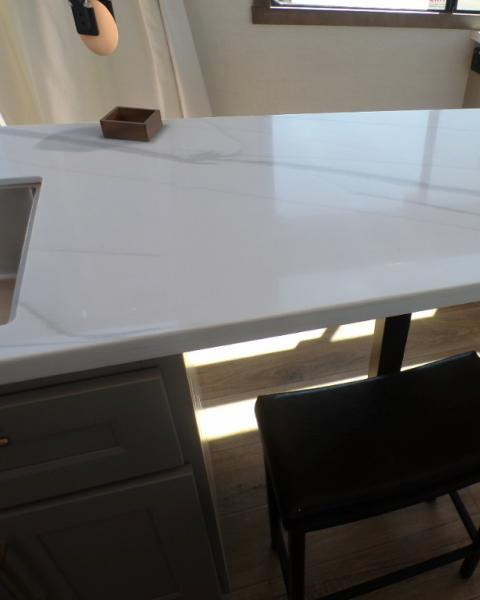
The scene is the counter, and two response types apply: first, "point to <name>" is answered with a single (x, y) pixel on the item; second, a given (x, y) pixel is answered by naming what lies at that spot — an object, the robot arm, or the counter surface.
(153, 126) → the open wooden tray
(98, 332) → the counter surface
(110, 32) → the egg
